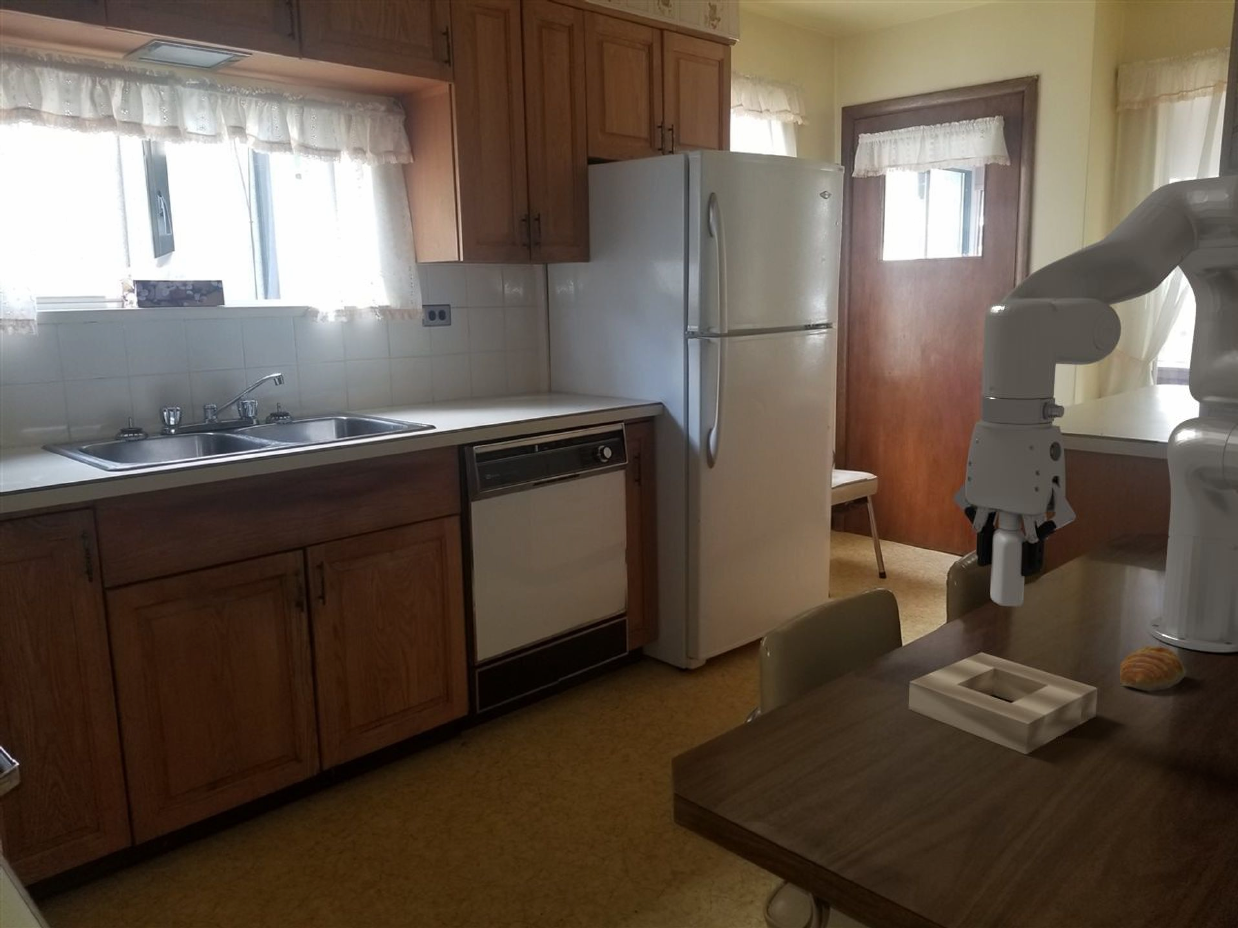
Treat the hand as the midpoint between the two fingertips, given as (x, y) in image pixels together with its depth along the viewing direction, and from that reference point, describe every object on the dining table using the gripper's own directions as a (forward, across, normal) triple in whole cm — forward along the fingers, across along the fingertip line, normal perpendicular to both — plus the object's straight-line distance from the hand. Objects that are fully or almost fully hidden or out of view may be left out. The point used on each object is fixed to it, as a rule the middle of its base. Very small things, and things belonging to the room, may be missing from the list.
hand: (1008, 567), depth 111 cm
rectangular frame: (+18, 0, 0) cm, 18 cm away
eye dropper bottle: (+4, 0, 0) cm, 4 cm away
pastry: (+18, -7, -24) cm, 30 cm away
